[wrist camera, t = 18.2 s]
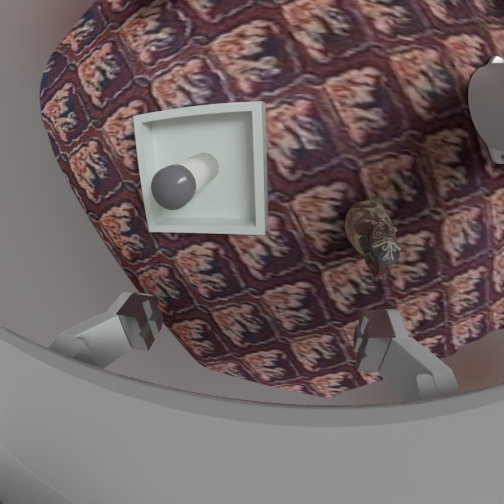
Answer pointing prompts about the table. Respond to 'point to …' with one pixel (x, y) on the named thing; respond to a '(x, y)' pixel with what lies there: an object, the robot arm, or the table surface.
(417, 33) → the table surface
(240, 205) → the tray
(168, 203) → the shaker
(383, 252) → the figurine
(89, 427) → the robot arm
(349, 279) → the table surface
